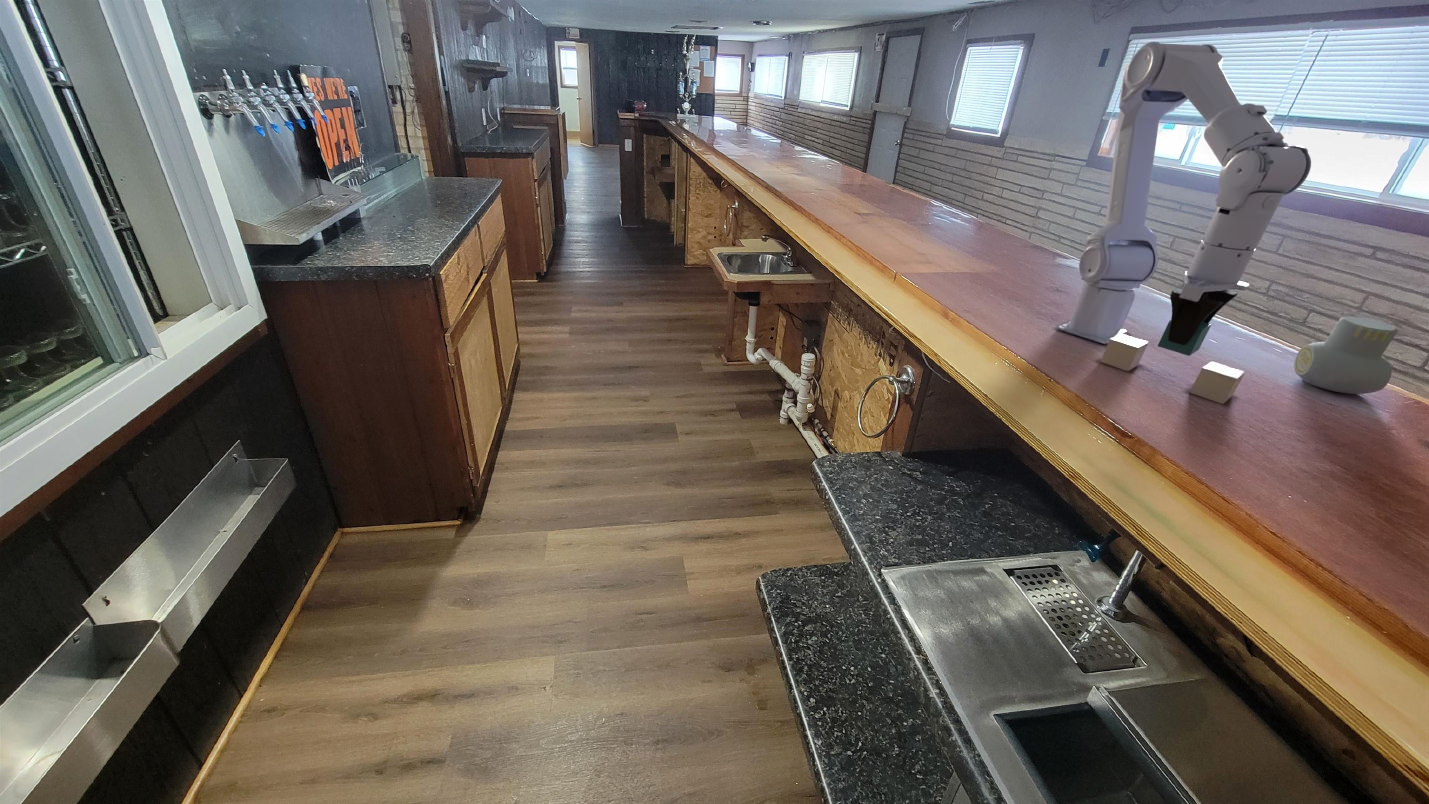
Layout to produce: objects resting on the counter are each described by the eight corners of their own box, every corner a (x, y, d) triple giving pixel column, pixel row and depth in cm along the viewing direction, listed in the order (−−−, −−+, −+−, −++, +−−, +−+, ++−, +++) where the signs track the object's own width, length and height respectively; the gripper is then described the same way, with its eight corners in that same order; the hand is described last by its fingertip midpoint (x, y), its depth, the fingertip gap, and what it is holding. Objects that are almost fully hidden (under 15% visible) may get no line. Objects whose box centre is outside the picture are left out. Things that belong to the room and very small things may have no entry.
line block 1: (1110, 356, 91) (1120, 333, 89) (1138, 365, 89) (1148, 342, 87) (1100, 361, 89) (1109, 338, 87) (1127, 371, 86) (1138, 347, 84)
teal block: (1167, 340, 85) (1179, 315, 83) (1198, 349, 82) (1211, 324, 80) (1157, 346, 83) (1169, 320, 81) (1189, 356, 80) (1202, 329, 78)
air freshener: (1378, 408, 79) (1425, 342, 74) (1300, 391, 83) (1341, 327, 78) (1354, 379, 87) (1396, 318, 82) (1285, 365, 91) (1321, 306, 86)
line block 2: (1198, 385, 83) (1211, 361, 81) (1231, 396, 80) (1245, 371, 78) (1189, 392, 81) (1202, 367, 79) (1222, 404, 78) (1237, 378, 76)
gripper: (1250, 259, 68) (1198, 360, 75) (1280, 245, 76) (1230, 337, 83) (1182, 246, 73) (1139, 342, 80) (1217, 234, 81) (1175, 322, 88)
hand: (1181, 339), depth 82 cm, fingers closed on teal block, 4 cm apart
